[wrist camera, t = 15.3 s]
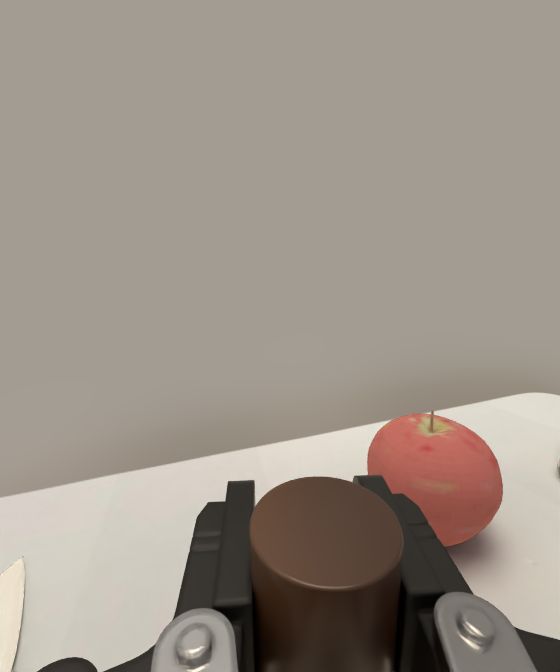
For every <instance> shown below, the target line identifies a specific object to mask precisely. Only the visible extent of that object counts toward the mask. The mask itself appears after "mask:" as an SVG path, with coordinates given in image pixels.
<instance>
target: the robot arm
mask: <svg viewBox="0 0 560 672" xmlns="http://www.w3.org/2000/svg"><path fill="white" fill-rule="evenodd" d="M353 483H355V484H358V485H360V486H362V487H364V488H366V489H368V490H370V491H371V492H373V493H374V494H376V495H377V496H379V497H380V498H381V499H382V500H383V501H384V502H385V503H386V504H387V505H388V506H389V507H390V508H391V509H392V511H393V512H394V514H395V515H396V517H397V519H398V521H399V524H400V526H401V529H402V533H403V542H404V545H403V558H402V571H401V583H400V596H399V609H398V622H397V634H396V647H395V660H394V672H560V640H558V639H554V638H550V637H546V636H542V635H538V634H534V633H530V632H527V631H523V630H520V629H518V628H516V627H513V625H512V624H511V622H510V621H509V620H508V619H507V617H506V616H505V615H504V614H503V613H502V612H501V611H500V610H498V609H497V608H496V607H495V606H493V605H492V604H491V603H489V602H488V601H486V600H484V599H482V598H480V597H478V596H475V595H474V594H473V592H472V591H471V589H470V588H469V586H468V584H467V583H466V581H465V580H464V578H463V576H462V575H461V573H460V572H459V570H458V568H457V567H456V565H455V564H454V562H453V560H452V559H451V557H450V556H449V554H448V552H447V551H446V549H445V548H444V546H443V544H442V543H441V541H440V540H439V539H437V535H436V533H435V532H434V530H433V528H432V527H431V525H429V523H428V520H427V519H426V517H425V516H424V514H423V512H422V511H421V509H420V508H419V506H418V505H417V504H415V503H414V502H413V501H412V500H411V499H409V498H408V497H407V496H406V495H405V494H403V493H396V494H392V492H391V490H390V489H389V487H388V485H387V483H386V481H385V480H384V478H383V476H382V475H363V476H354V478H353ZM254 509H255V482H254V480H248V481H228V486H227V493H226V501H225V502H208V503H207V505H206V506H205V507H204V509H203V510H202V511H201V512H200V514H199V515H198V516H197V520H196V524H195V528H194V533H193V537H192V541H191V546H190V552H189V555H188V559H187V563H186V568H185V572H184V576H183V581H182V585H181V590H180V594H179V598H178V603H177V607H176V611H175V615H174V618H173V620H172V622H170V624H169V625H168V626H167V627H166V628H165V629H164V631H163V632H162V633H161V635H160V637H159V639H158V641H157V643H156V644H155V645H154V646H153V647H151V648H150V649H149V650H148V651H146V652H145V653H143V654H142V655H140V656H138V657H136V658H134V659H132V660H130V661H128V662H125V663H123V664H120V665H118V666H116V667H113V668H111V669H108V670H106V671H104V672H255V645H254V616H253V587H252V578H251V565H250V538H249V525H250V519H251V516H252V513H253V511H254ZM37 672H97V669H96V668H95V666H94V665H93V664H92V663H91V662H89V661H88V660H86V659H83V658H77V657H72V658H65V659H61V660H58V661H56V662H53V663H51V664H49V665H47V666H45V667H43V668H42V669H40V670H39V671H37Z"/></svg>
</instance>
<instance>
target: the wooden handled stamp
mask: <svg viewBox="0 0 560 672" xmlns="http://www.w3.org/2000/svg"><path fill="white" fill-rule="evenodd" d="M249 538H250V565H251V578H252V587H253V616H254V645H255V672H394V660H395V647H396V634H397V622H398V609H399V596H400V583H401V571H402V558H403V545H404V542H403V533H402V529H401V526H400V524H399V521H398V519H397V517H396V515H395V514H394V512H393V511H392V509H391V508H390V507H389V506H388V505H387V504H386V503H385V502H384V501H383V500H382V499H381V498H380V497H379V496H377V495H376V494H374V493H373V492H371V491H370V490H368V489H366V488H364V487H362V486H360V485H358V484H355V483H352V482H349V481H346V480H342V479H338V478H332V477H305V478H299V479H295V480H291V481H288V482H285V483H283V484H281V485H279V486H277V487H275V488H273V489H272V490H270V491H269V492H268V493H267V494H265V495H264V496H263V497H262V498H261V499H260V501H259V502H258V504H257V505H256V507H255V509H254V511H253V513H252V516H251V519H250V525H249Z"/></svg>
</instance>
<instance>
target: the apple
mask: <svg viewBox="0 0 560 672" xmlns="http://www.w3.org/2000/svg"><path fill="white" fill-rule="evenodd" d="M367 466H368V475H382V476H383V478H384V480H385V481H386V483H387V485H388V487H389V489H390V490H391V492H392V494H396V493H403V494H405V495H406V496H407V497H408V498H409V499H411V500H412V501H413V502H414V503H415V504H417V505H418V506H419V508H420V509H421V511H422V512H423V514H424V516H425V517H426V519H427V520H428V523H429V525H431V527H432V528H433V530H434V532H435V533H436V535H437V539H439V540H440V541H441V543H442V544H443V546H451V545H455V544H459V543H462V542H465V541H466V540H468V539H470V538H471V537H473V536H474V535H476V534H477V533H479V532H480V531H481V530H483V529H484V528H485V527H486V526H487V525H488V524H489V523H490V522H491V520H492V519H493V517H494V515H495V514H496V512H497V510H498V509H499V507H500V504H501V501H502V495H503V485H502V478H501V473H500V469H499V465H498V462H497V460H496V458H495V456H494V454H493V452H492V451H491V449H490V448H489V446H488V445H487V444H486V442H485V441H484V440H483V439H482V438H480V437H479V436H478V435H477V434H476V433H474V432H473V431H471V430H470V429H468V428H467V427H465V426H463V425H461V424H459V423H457V422H455V421H452V420H449V419H447V418H444V417H440V416H436V415H434V413H433V410H432V412H431V414H412V415H407V416H402V417H400V418H397V419H394V420H392V421H390V422H389V423H387V424H386V425H385V426H383V427H382V428H381V429H380V430H379V431H378V432H377V434H376V435H375V437H374V439H373V441H372V443H371V445H370V447H369V451H368V460H367Z"/></svg>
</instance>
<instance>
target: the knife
mask: <svg viewBox="0 0 560 672" xmlns="http://www.w3.org/2000/svg"><path fill="white" fill-rule="evenodd" d="M23 598H24V561H23V556H22V557H21V558H20V559H18V560H17V561H16V562H15V563H14V564H12V565H11V566H10V567H9V568H8V569H7V570H6V571H5V572H4V573H2V574H1V575H0V672H11V669H12V666H13V662H14V658H15V654H16V649H17V643H18V637H19V632H20V626H21V618H22V609H23Z"/></svg>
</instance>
